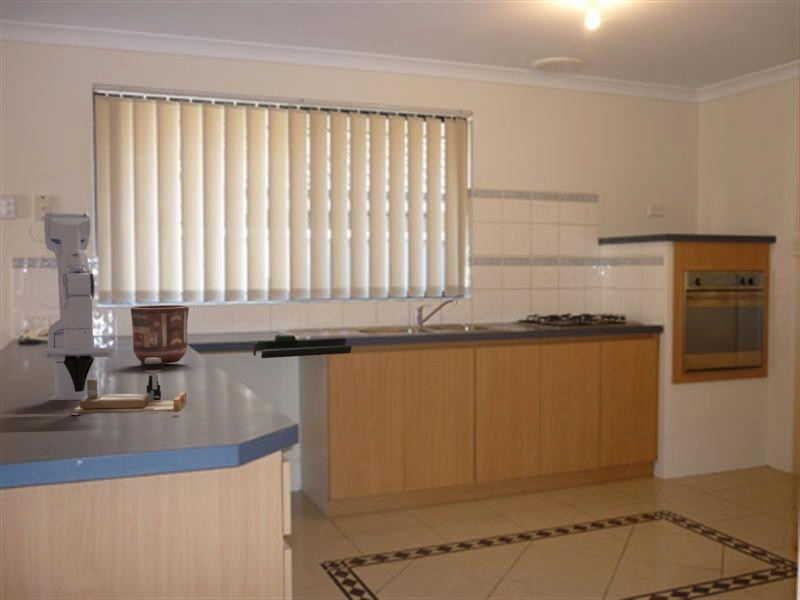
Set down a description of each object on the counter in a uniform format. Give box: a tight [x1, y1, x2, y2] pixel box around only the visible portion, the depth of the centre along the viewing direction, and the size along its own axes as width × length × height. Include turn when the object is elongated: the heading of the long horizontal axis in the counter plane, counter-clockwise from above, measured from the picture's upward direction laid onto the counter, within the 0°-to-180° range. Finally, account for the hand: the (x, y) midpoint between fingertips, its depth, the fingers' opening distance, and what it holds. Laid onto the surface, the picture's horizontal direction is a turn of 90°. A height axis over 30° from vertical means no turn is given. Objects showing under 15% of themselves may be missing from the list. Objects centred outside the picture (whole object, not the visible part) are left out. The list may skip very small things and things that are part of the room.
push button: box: [140, 357, 165, 400], centre depth 183 cm, size 7×5×10 cm
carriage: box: [79, 378, 151, 409], centre depth 171 cm, size 8×13×6 cm, turn 97°
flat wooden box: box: [70, 391, 187, 414], centre depth 172 cm, size 11×22×3 cm, turn 97°
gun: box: [252, 334, 355, 359], centre depth 273 cm, size 6×35×8 cm, turn 118°
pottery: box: [130, 304, 190, 365], centre depth 256 cm, size 18×18×18 cm
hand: (79, 391), depth 171 cm, fingers closed
